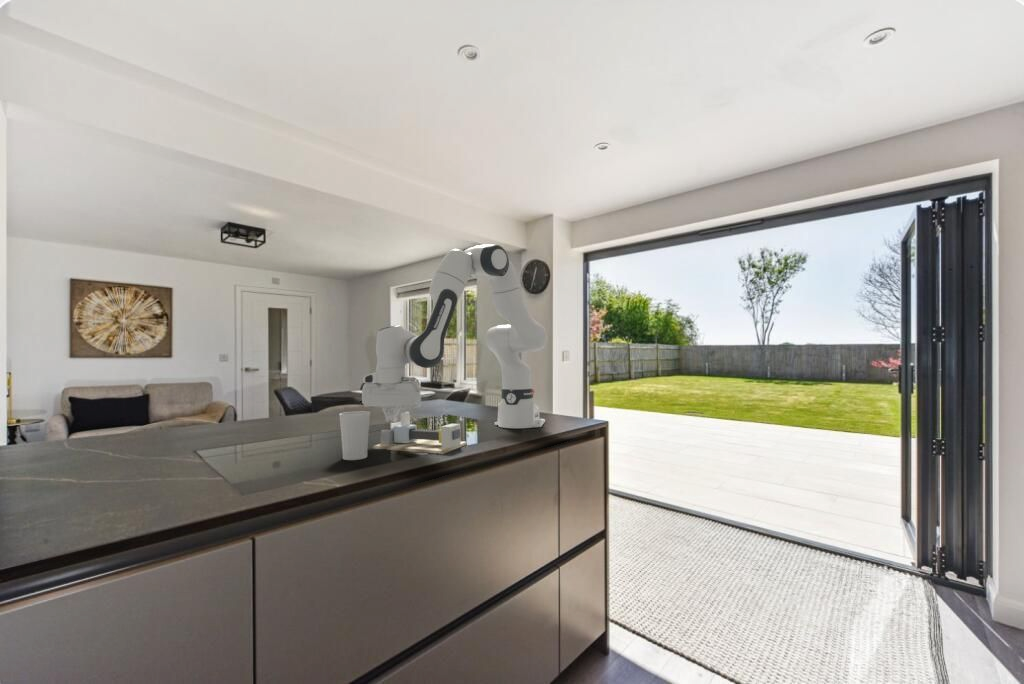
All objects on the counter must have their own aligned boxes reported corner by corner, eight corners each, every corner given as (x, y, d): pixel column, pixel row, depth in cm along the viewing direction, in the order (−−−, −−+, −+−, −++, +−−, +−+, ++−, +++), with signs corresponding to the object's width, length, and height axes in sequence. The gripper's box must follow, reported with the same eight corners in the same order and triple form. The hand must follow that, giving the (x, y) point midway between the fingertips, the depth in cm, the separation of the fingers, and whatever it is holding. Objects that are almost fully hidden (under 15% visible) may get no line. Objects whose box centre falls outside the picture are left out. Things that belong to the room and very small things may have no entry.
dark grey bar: (388, 439, 137) (388, 427, 137) (395, 437, 140) (395, 425, 140) (444, 443, 129) (444, 430, 129) (451, 441, 133) (451, 428, 133)
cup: (375, 454, 125) (374, 411, 125) (362, 460, 117) (362, 415, 117) (347, 454, 125) (347, 411, 126) (333, 460, 117) (333, 415, 118)
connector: (441, 447, 128) (441, 426, 128) (451, 443, 134) (451, 423, 134) (451, 448, 127) (451, 427, 127) (462, 444, 132) (461, 424, 133)
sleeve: (393, 442, 135) (393, 413, 135) (403, 439, 140) (403, 411, 140) (407, 443, 133) (407, 413, 134) (416, 440, 138) (416, 411, 138)
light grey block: (380, 444, 135) (380, 430, 135) (397, 439, 143) (397, 426, 143) (388, 444, 134) (388, 431, 134) (405, 439, 141) (405, 427, 142)
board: (373, 448, 132) (373, 445, 132) (401, 439, 145) (401, 437, 145) (443, 454, 123) (443, 451, 123) (467, 444, 136) (466, 441, 136)
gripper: (424, 376, 138) (425, 421, 138) (371, 376, 146) (372, 418, 145) (413, 377, 132) (413, 424, 132) (358, 377, 140) (358, 421, 140)
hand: (391, 421), depth 139 cm, fingers closed
